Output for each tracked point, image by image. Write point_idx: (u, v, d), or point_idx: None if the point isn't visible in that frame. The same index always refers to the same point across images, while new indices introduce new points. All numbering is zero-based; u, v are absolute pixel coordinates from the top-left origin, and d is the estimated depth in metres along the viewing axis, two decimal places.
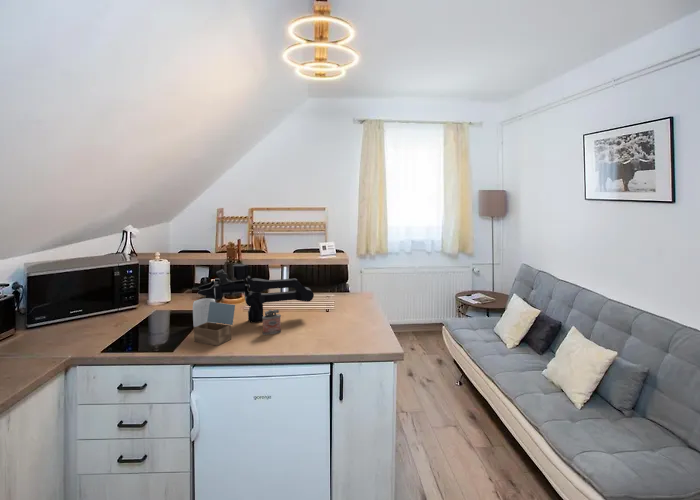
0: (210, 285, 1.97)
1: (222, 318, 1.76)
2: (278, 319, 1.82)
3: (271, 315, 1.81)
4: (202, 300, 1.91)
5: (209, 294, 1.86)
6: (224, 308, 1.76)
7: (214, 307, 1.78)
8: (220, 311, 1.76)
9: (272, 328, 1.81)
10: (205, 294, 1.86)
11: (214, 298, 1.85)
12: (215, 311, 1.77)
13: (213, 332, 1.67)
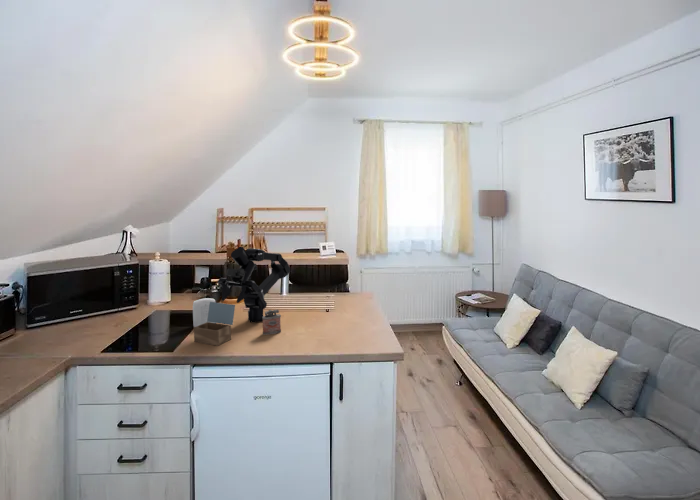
0: (226, 289, 1.86)
1: (222, 318, 1.76)
2: (278, 319, 1.82)
3: (271, 315, 1.81)
4: (202, 300, 1.91)
5: (245, 294, 1.83)
6: (224, 308, 1.76)
7: (214, 307, 1.78)
8: (220, 311, 1.76)
9: (272, 328, 1.81)
10: (243, 297, 1.82)
11: (253, 292, 1.85)
12: (215, 311, 1.77)
13: (213, 332, 1.67)
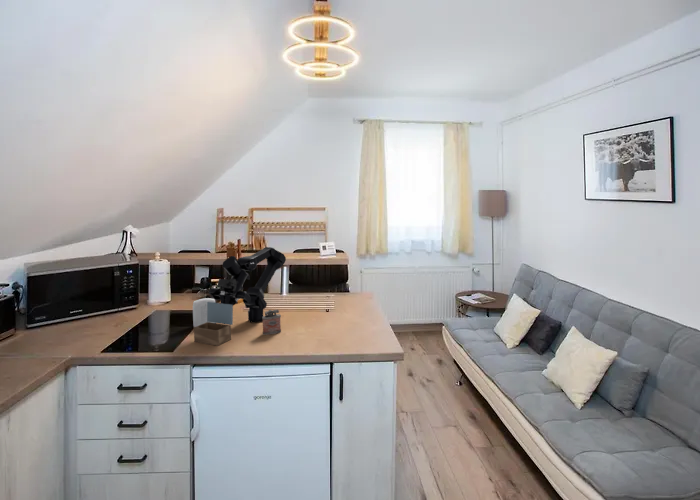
0: (224, 300, 1.79)
1: (221, 318, 1.75)
2: (278, 319, 1.82)
3: (271, 315, 1.81)
4: (202, 300, 1.91)
5: (230, 304, 1.80)
6: (222, 308, 1.75)
7: (212, 307, 1.77)
8: (219, 311, 1.76)
9: (272, 328, 1.81)
10: None
11: (237, 302, 1.81)
12: (214, 311, 1.77)
13: (213, 332, 1.67)
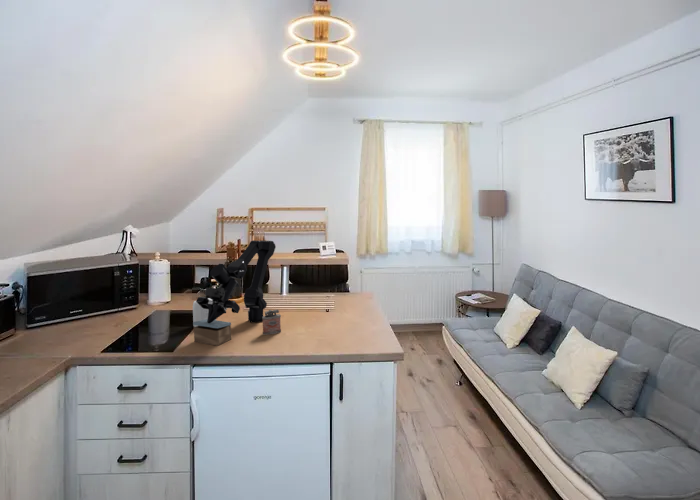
0: (212, 310, 1.73)
1: None
2: (278, 319, 1.82)
3: (271, 315, 1.81)
4: None
5: (218, 314, 1.73)
6: None
7: None
8: None
9: (272, 328, 1.81)
10: (216, 317, 1.72)
11: None
12: None
13: (213, 332, 1.67)
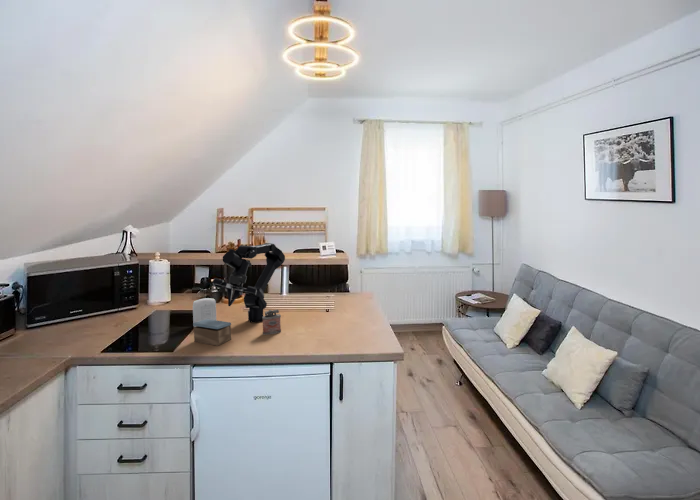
0: (231, 293, 1.83)
1: None
2: (278, 319, 1.82)
3: (271, 315, 1.81)
4: (202, 300, 1.91)
5: (236, 296, 1.84)
6: None
7: None
8: None
9: (272, 328, 1.81)
10: (234, 300, 1.83)
11: None
12: None
13: (213, 332, 1.67)
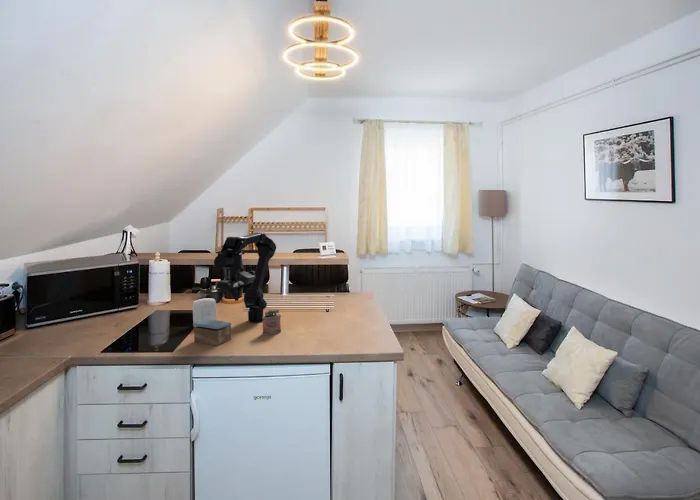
0: None
1: None
2: (278, 319, 1.82)
3: (271, 315, 1.81)
4: (202, 300, 1.91)
5: None
6: None
7: None
8: None
9: (272, 328, 1.81)
10: None
11: None
12: None
13: (213, 332, 1.67)
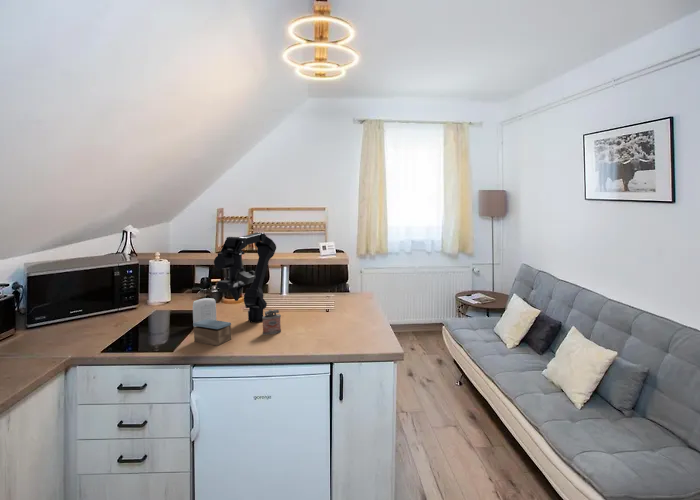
0: None
1: None
2: (278, 319, 1.82)
3: (271, 315, 1.81)
4: (202, 300, 1.91)
5: None
6: None
7: None
8: None
9: (272, 328, 1.81)
10: None
11: None
12: None
13: (213, 332, 1.67)
